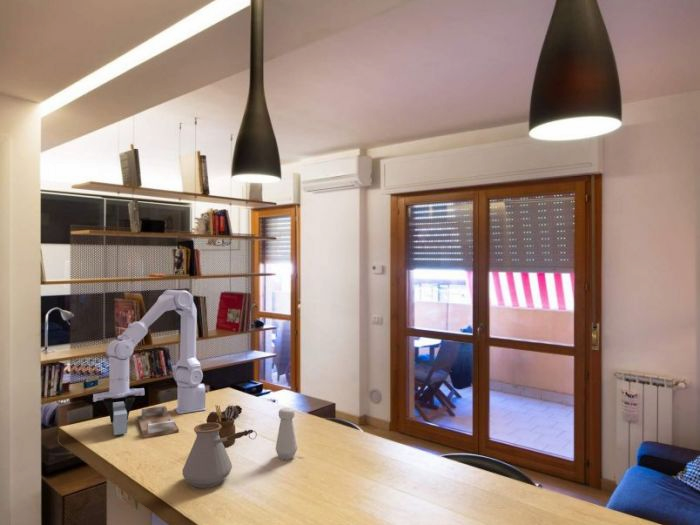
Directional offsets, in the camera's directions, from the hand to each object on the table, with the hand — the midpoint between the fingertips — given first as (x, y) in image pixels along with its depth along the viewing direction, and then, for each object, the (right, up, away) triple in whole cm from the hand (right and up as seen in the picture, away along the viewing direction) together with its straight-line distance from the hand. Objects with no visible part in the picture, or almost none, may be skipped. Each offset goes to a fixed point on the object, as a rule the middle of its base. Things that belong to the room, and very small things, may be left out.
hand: (119, 420), depth 146 cm
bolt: (+32, -3, +8) cm, 33 cm away
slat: (0, -2, 0) cm, 2 cm away
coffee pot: (+43, -2, -38) cm, 58 cm away
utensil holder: (+37, -3, -12) cm, 39 cm away
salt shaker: (+56, -3, -22) cm, 61 cm away
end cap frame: (+11, -3, +3) cm, 12 cm away
